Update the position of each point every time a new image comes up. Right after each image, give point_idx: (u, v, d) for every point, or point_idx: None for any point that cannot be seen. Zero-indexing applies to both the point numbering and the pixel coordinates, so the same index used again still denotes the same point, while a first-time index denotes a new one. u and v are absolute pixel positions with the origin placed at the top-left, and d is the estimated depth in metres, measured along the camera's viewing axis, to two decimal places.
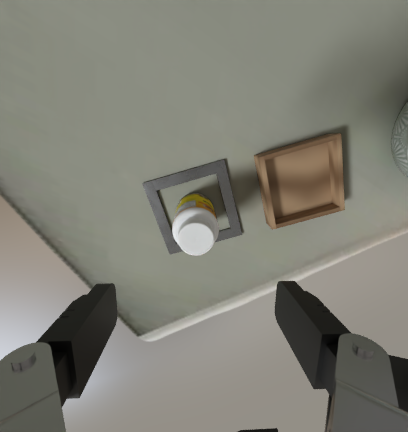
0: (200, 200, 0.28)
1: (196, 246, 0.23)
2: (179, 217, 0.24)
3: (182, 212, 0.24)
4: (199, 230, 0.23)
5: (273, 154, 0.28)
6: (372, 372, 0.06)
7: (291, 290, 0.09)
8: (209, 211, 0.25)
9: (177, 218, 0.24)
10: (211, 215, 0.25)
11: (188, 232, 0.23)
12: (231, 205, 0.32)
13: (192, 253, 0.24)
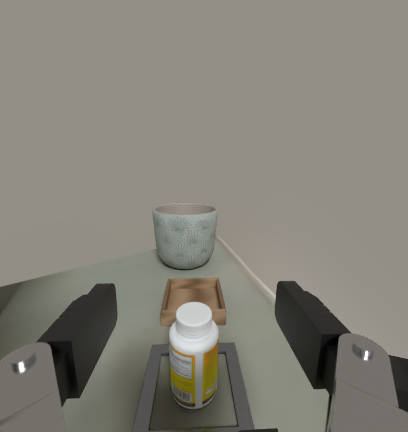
0: None
1: (201, 313, 0.23)
2: (172, 338, 0.23)
3: (169, 337, 0.23)
4: (185, 308, 0.24)
5: (163, 305, 0.37)
6: (372, 372, 0.05)
7: (291, 290, 0.09)
8: None
9: (173, 341, 0.22)
10: None
11: (184, 316, 0.23)
12: None
13: (207, 317, 0.23)
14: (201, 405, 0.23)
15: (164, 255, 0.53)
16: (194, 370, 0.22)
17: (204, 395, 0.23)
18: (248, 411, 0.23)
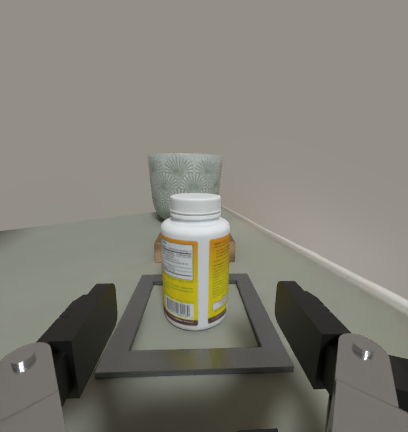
0: None
1: (205, 196, 0.17)
2: (165, 226, 0.16)
3: (161, 228, 0.16)
4: (183, 194, 0.17)
5: (158, 239, 0.30)
6: (372, 372, 0.05)
7: (291, 290, 0.09)
8: None
9: (166, 228, 0.16)
10: None
11: (181, 196, 0.16)
12: None
13: (215, 197, 0.16)
14: (206, 324, 0.16)
15: (161, 206, 0.46)
16: (197, 267, 0.15)
17: (211, 309, 0.16)
18: (274, 332, 0.16)
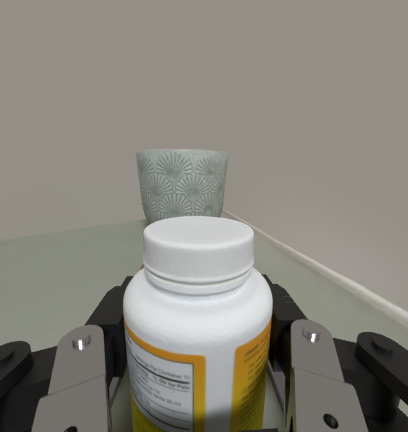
0: None
1: (221, 228, 0.08)
2: (130, 300, 0.07)
3: (124, 301, 0.07)
4: (174, 222, 0.08)
5: None
6: (313, 351, 0.06)
7: None
8: None
9: (131, 308, 0.07)
10: None
11: (168, 231, 0.07)
12: None
13: (244, 233, 0.07)
14: None
15: (152, 215, 0.37)
16: (203, 410, 0.06)
17: None
18: None
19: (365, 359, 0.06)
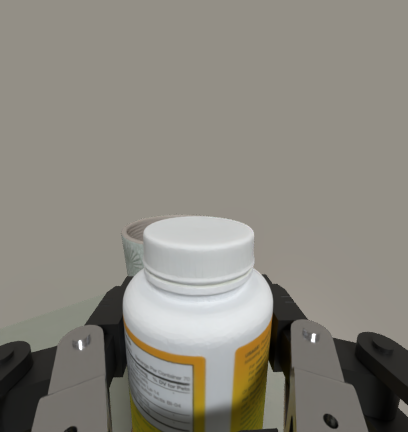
0: None
1: (221, 228, 0.08)
2: (130, 301, 0.07)
3: (123, 301, 0.07)
4: (174, 222, 0.08)
5: None
6: (313, 351, 0.06)
7: None
8: None
9: (130, 309, 0.07)
10: None
11: (168, 231, 0.07)
12: None
13: (244, 234, 0.07)
14: None
15: None
16: (203, 412, 0.06)
17: None
18: None
19: (365, 359, 0.06)
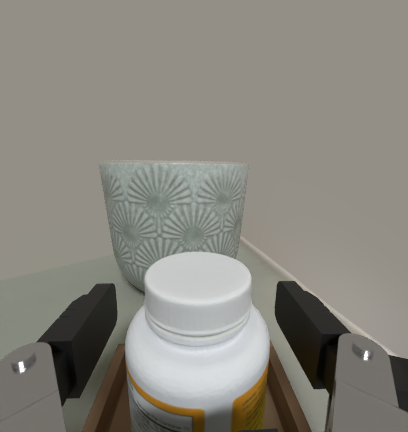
0: None
1: (219, 272, 0.08)
2: (132, 347, 0.07)
3: (125, 344, 0.08)
4: (174, 263, 0.09)
5: None
6: (372, 372, 0.06)
7: (291, 290, 0.09)
8: None
9: (132, 356, 0.07)
10: None
11: (168, 278, 0.07)
12: None
13: (242, 281, 0.07)
14: None
15: (125, 268, 0.22)
16: None
17: None
18: None
19: None
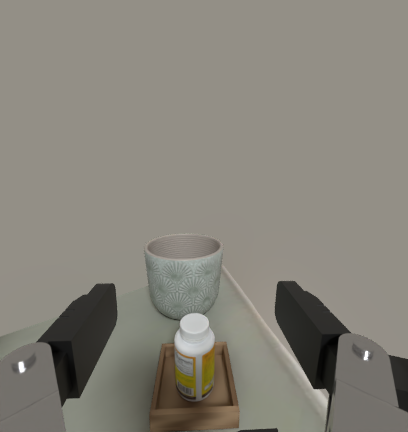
0: None
1: (200, 322, 0.29)
2: (177, 343, 0.28)
3: (175, 342, 0.28)
4: (187, 319, 0.30)
5: (153, 398, 0.27)
6: (372, 372, 0.06)
7: (291, 290, 0.09)
8: None
9: (178, 345, 0.28)
10: None
11: (186, 325, 0.28)
12: None
13: (205, 326, 0.28)
14: (200, 398, 0.28)
15: (158, 304, 0.43)
16: (195, 369, 0.27)
17: (203, 390, 0.28)
18: None
19: None
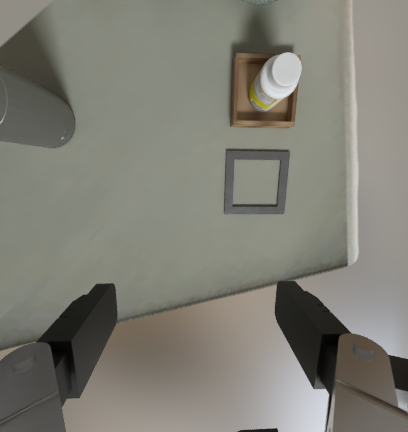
0: (256, 76, 0.33)
1: (292, 70, 0.28)
2: (264, 85, 0.30)
3: (261, 82, 0.30)
4: (280, 63, 0.28)
5: (234, 112, 0.36)
6: (372, 372, 0.05)
7: (291, 290, 0.09)
8: (268, 60, 0.30)
9: (264, 87, 0.30)
10: (272, 57, 0.29)
11: (278, 73, 0.28)
12: (262, 154, 0.40)
13: (297, 76, 0.28)
14: (267, 110, 0.38)
15: None
16: (273, 103, 0.33)
17: (271, 108, 0.36)
18: (284, 200, 0.42)
19: None
